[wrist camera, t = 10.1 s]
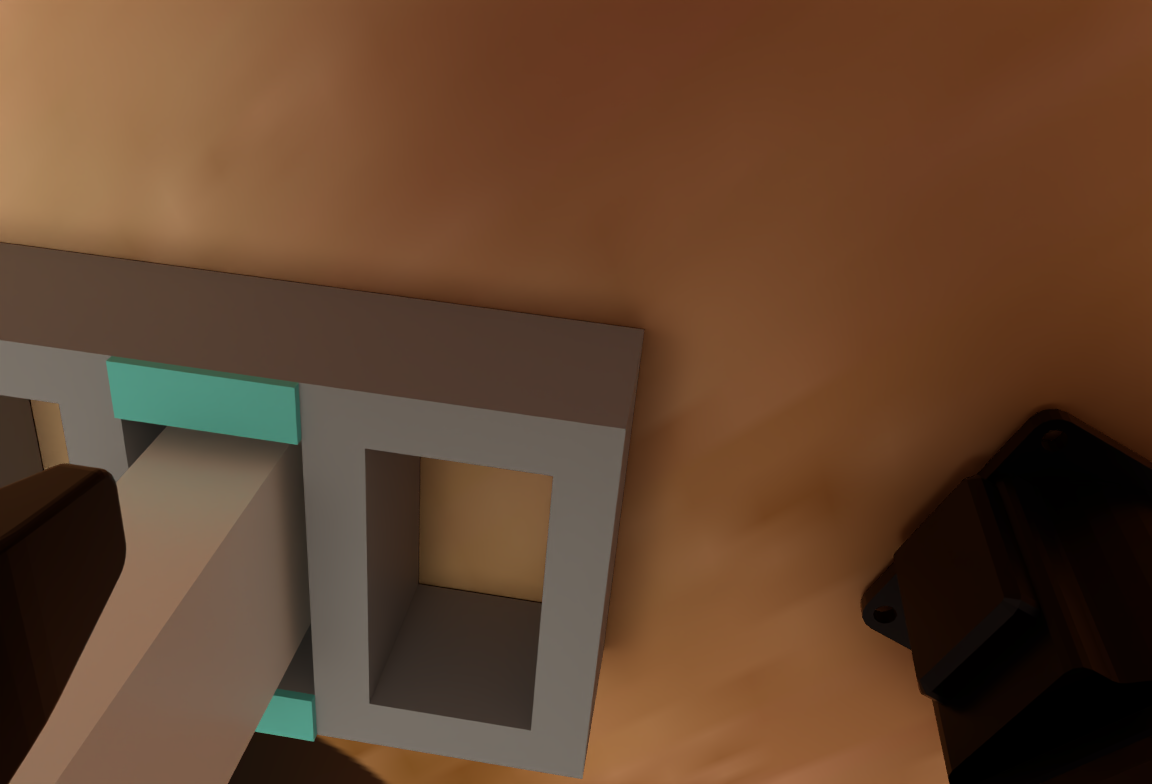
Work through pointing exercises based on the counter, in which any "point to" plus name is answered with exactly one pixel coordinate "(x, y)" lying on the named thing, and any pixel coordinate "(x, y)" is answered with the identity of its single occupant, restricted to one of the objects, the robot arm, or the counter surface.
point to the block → (187, 618)
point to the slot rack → (359, 474)
